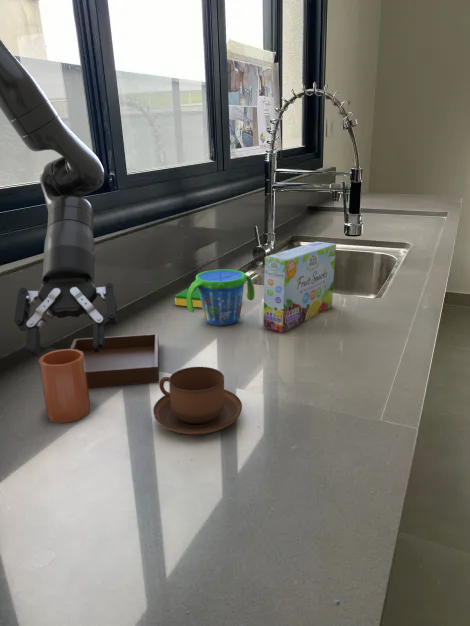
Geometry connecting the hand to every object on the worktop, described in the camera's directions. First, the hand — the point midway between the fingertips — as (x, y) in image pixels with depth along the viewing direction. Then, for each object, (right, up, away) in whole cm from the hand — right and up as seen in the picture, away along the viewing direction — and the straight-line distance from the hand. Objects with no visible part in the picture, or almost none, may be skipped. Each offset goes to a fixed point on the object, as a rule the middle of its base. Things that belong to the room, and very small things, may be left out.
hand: (65, 352), depth 70 cm
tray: (+3, -4, +15) cm, 15 cm away
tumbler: (0, -8, 0) cm, 8 cm away
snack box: (+38, +4, +38) cm, 54 cm away
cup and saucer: (+19, -9, -2) cm, 21 cm away
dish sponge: (+17, +8, +48) cm, 52 cm away
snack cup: (+21, +4, +36) cm, 42 cm away
